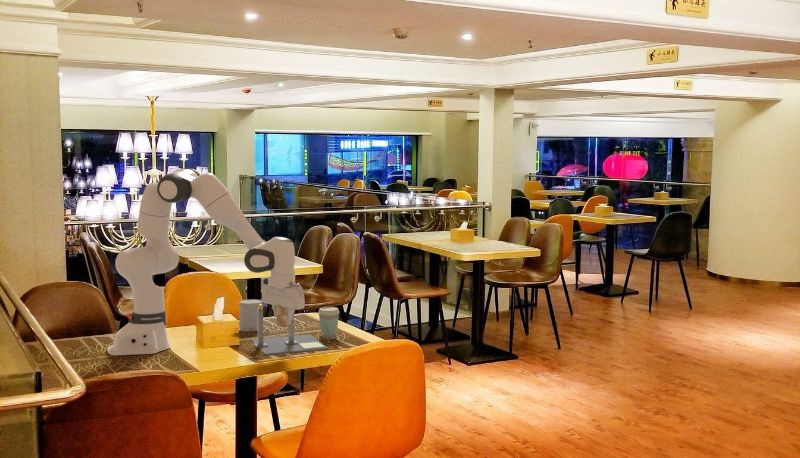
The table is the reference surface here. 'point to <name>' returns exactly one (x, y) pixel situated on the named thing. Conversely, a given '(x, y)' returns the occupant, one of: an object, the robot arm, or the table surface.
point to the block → (282, 316)
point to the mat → (279, 347)
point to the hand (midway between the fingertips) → (283, 318)
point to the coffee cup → (328, 322)
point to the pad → (311, 345)
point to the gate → (260, 330)
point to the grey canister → (249, 314)
